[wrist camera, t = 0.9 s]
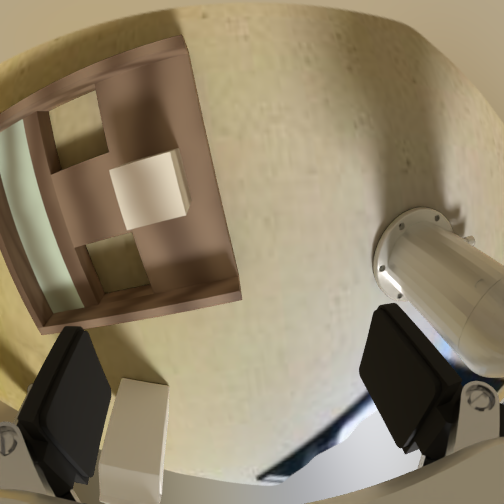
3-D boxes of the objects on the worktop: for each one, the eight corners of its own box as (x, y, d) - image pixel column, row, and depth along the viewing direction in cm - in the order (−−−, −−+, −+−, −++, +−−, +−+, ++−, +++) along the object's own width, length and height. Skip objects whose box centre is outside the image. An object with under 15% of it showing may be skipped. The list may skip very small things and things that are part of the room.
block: (178, 147, 26) (170, 151, 21) (191, 200, 28) (186, 215, 23) (127, 162, 25) (109, 170, 21) (141, 213, 27) (127, 230, 23)
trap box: (188, 50, 24) (181, 34, 19) (238, 273, 34) (242, 299, 29) (-2, 131, 24) (-31, 135, 19) (58, 310, 33) (41, 335, 28)
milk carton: (121, 376, 38) (92, 491, 21) (169, 384, 39) (157, 504, 22) (125, 405, 41) (104, 509, 23) (168, 413, 42) (160, 520, 24)
